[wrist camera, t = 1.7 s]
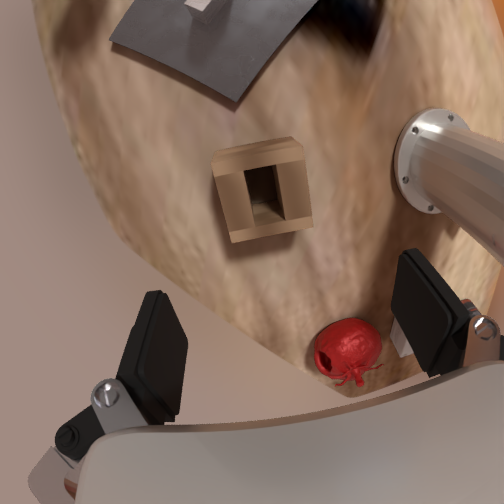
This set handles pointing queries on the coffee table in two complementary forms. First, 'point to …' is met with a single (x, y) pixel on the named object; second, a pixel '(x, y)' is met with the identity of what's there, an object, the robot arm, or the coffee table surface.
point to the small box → (400, 340)
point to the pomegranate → (347, 350)
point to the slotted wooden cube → (286, 181)
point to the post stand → (211, 36)
